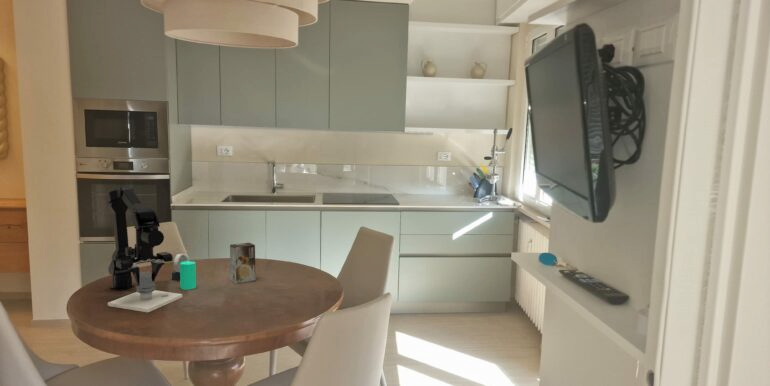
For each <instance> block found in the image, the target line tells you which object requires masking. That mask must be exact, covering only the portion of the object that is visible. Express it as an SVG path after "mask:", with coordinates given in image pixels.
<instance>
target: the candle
mask: <svg viewBox="0 0 770 386" xmlns="http://www.w3.org/2000/svg"><path fill="white" fill-rule="evenodd" d="M179 267H180V280H179V281H180V283H179V285H180V287H179V288H180V289H181V290H194V289H195V288H196V287H197V276H196V275H197V269H196V268H197V263H196V262H195V261H190V260H189V261H185V262H181V263H180V262H179Z"/></svg>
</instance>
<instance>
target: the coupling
mask: <svg viewBox="0 0 770 386" xmlns="http://www.w3.org/2000/svg"><path fill="white" fill-rule="evenodd" d="M139 272H140V282H139V284H137V283H136V285H135V287H136V292H138V293H149V292H153V291H155V290H156V283H155V282H153V281H152V270H151V271H149V270H148V271H139Z"/></svg>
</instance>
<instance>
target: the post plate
mask: <svg viewBox="0 0 770 386" xmlns="http://www.w3.org/2000/svg"><path fill="white" fill-rule="evenodd" d="M181 298H183V294H182V293H177V292H170V291H162V290H156V289H155V291H153V292H149V293H138V292H137V291H136V292H132V293H129V294H128V295H125V296H121V297H120V298H117V299H114V300H112V301H108V302H107V306H108V307H113V308H117V309H125V310H131V311H136V312H143V313H150V312H152V311H154V310H157V309H158V308H159V309H160V308H161V307H163V306H165V305H169V304H171V303H172V302H174V301H177V300H179V299H181Z"/></svg>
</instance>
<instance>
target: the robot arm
mask: <svg viewBox="0 0 770 386" xmlns="http://www.w3.org/2000/svg"><path fill="white" fill-rule="evenodd" d="M104 199H105V200H104V201H105V203H106V204H107V205H106V206H107V209H109V211H110V212H111V213H112V222H113V231H114V232H113V233H114V241H115V242H114V243H115V250H114V252H113V253H112V255H111V261H110V264H109V266H108V267H107V268H108V269H107V271H108V274H109V275H111V276H112V286H110V288H109V289H111V290H112V289H113V290H119V291H124V290H127V289H130V288H132V287H135V284H133V277H134V279H135V280H134V281H135V282H136V285H137V284H140V272H141V271H140V267H139V266H138V264H144V263H150V264H151V276H152V282H155V280H156V278H157V276H158V274H159V271H160V270H161V269H162V266H163V265H165V263H169V262H174V257H173V254H172V253H170V252H168V251H162V252H161V251H160V252H157V253H156V254H155V255H154V248H155V247H157V246H160V245H162V243H164V239H165V236H164V233H163V232H162V231H160V230H159V227H160V219H159V218H158V215H157V213H156V210H155V209H154V208H153V207H152V206H151V205H148V204H145V203H143V202H142V200H141V199H140V198H139V197H138V195H137V194H136V193H135V192H134V188H133V187H131V186H124V187H123V186H121V187H118V188H116V189H114V190H110V191H108V192H107V193H106V194H105V195H104ZM128 209H129V211H130V212H131V215H130V218H131V221H132V223H133V225H134V229H135V244H134V247H132V246H129V235H128V224H127V223H128V222H127V211H128ZM132 275H133V276H132Z"/></svg>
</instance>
